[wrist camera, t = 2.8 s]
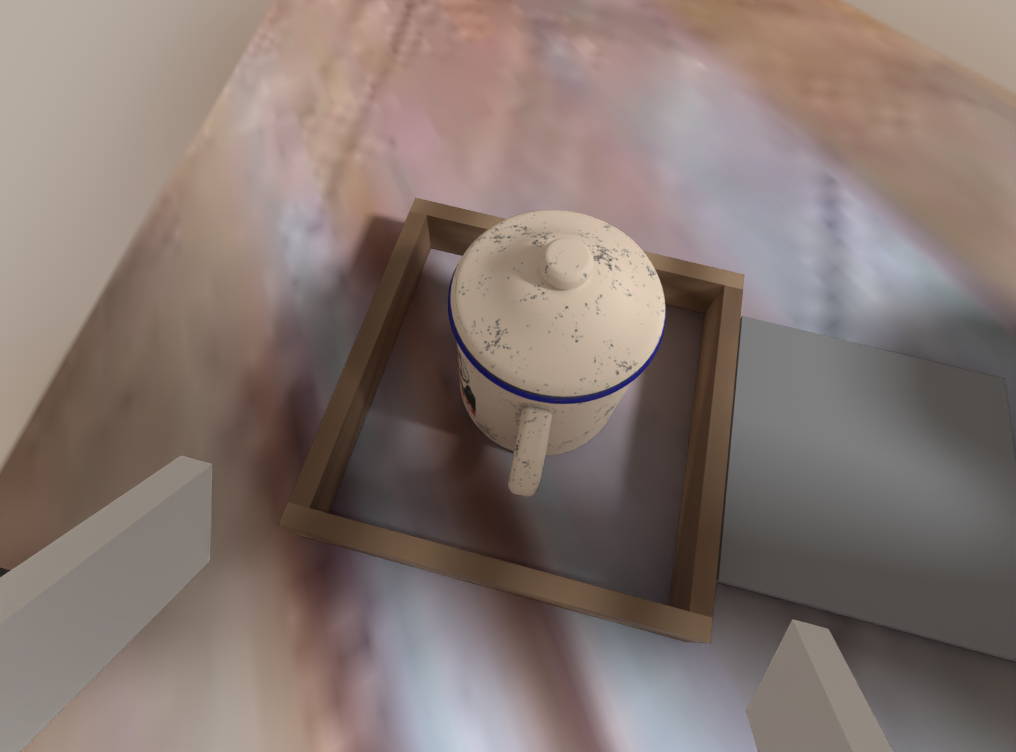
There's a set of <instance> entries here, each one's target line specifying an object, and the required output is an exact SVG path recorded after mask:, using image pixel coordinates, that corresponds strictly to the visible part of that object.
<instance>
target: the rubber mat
mask: <svg viewBox="0 0 1016 752" xmlns="http://www.w3.org/2000/svg"><path fill="white" fill-rule="evenodd" d="M716 582H719V583H723V584H727V585H731V586H734V587H738V588H742V589H746V590H749V591H753V592H757V593H760V594H764V595H768V596H772V597H775V598H779V599H783V600H787V601H790V602H794V603H798V604H802V605H805V606H809V607H813V608H816V609H820V610H824V611H828V612H831V613H835V614H839V615H843V616H846V617H850V618H854V619H858V620H861V621H865V622H869V623H872V624H876V625H880V626H884V627H887V628H891V629H895V630H899V631H902V632H906V633H910V634H914V635H917V636H921V637H925V638H928V639H932V640H936V641H940V642H943V643H947V644H951V645H955V646H958V647H962V648H966V649H970V650H973V651H977V652H981V653H984V654H988V655H992V656H996V657H999V658H1003V659H1007V660H1011V661H1014V662H1016V460H1015V453H1014V445H1013V438H1012V430H1011V422H1010V415H1009V407H1008V400H1007V392H1006V384H1005V379H1004V378H1000V377H996V376H991V375H987V374H983V373H979V372H975V371H970V370H966V369H962V368H958V367H954V366H949V365H945V364H941V363H937V362H933V361H928V360H924V359H920V358H916V357H912V356H907V355H903V354H899V353H895V352H891V351H887V350H882V349H878V348H874V347H870V346H866V345H861V344H857V343H853V342H849V341H845V340H840V339H836V338H832V337H828V336H824V335H819V334H815V333H811V332H807V331H803V330H798V329H794V328H790V327H786V326H782V325H777V324H773V323H769V322H765V321H761V320H757V319H752V318H748V317H744V316H742V317H741V318H740V327H739V338H738V349H737V360H736V371H735V382H734V393H733V403H732V414H731V425H730V436H729V447H728V458H727V469H726V480H725V491H724V502H723V513H722V523H721V534H720V545H719V556H718V567H717V578H716Z"/></svg>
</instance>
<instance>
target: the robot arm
mask: <svg viewBox="0 0 1016 752" xmlns="http://www.w3.org/2000/svg"><path fill="white" fill-rule="evenodd" d="M212 470H213V464H212V463H208V462H204V461H200V460H197V459H193V458H189V457H186V456H182V455H181V456H179V457H178V458H176V459H175V460H173V461H172V462H170V463H169V464H167V465H166V466H164V467H163V468H161V469H160V470H158V471H157V472H156V473H154V474H153V475H151V476H150V477H148V478H147V479H145V480H144V481H142V482H141V483H139V484H138V485H136V486H135V487H133V488H132V489H130V490H129V491H127V492H126V493H124V494H123V495H121V496H120V497H119V498H117V499H116V500H114V501H113V502H111V503H110V504H108V505H107V506H105V507H104V508H102V509H101V510H99V511H98V512H96V513H95V514H93V515H92V516H90V517H89V518H87V519H86V520H85V521H83V522H82V523H80V524H79V525H77V526H76V527H74V528H73V529H71V530H70V531H68V532H67V533H65V534H64V535H62V536H61V537H59V538H58V539H56V540H55V541H53V542H52V543H50V544H49V545H48V546H46V547H45V548H43V549H42V550H40V551H39V552H37V553H36V554H34V555H33V556H31V557H30V558H28V559H27V560H25V561H24V562H22V563H21V564H19V565H18V566H16V567H15V568H14V569H12V570H11V571H10V570H6V569H3V568H0V752H21V751H22V750H23V749H24V748H25V747H26V746H27V745H28V744H29V743H30V742H31V741H32V740H33V739H34V738H35V737H36V736H37V735H38V734H39V733H40V732H41V731H42V730H43V729H44V728H45V727H46V726H47V725H48V723H49V722H50V721H51V720H52V719H53V718H54V717H55V716H56V715H57V714H58V713H59V712H60V711H61V710H62V709H63V708H64V707H65V706H66V705H67V704H68V703H69V702H70V701H71V700H72V699H73V698H74V697H75V696H76V695H77V694H78V693H79V692H80V691H81V690H82V689H83V688H84V687H85V686H86V685H87V684H88V683H89V682H90V681H91V680H92V679H93V678H94V677H95V676H96V675H97V674H98V673H99V672H100V671H101V670H102V669H103V668H104V667H105V666H106V665H107V664H108V663H109V662H110V661H111V660H112V659H113V658H114V657H115V656H116V655H117V654H118V653H119V652H120V651H121V650H122V649H123V648H124V647H125V646H126V645H127V644H128V643H129V642H130V641H131V640H132V639H133V638H134V637H135V636H136V635H137V634H138V633H139V632H140V631H141V630H142V629H143V628H144V627H145V626H146V625H147V624H148V623H149V622H150V621H151V620H152V619H153V618H154V617H155V616H156V615H157V614H158V613H159V612H160V611H161V610H162V609H163V608H164V607H165V606H166V605H167V604H168V603H169V602H170V601H171V600H172V599H173V598H174V597H175V596H176V595H177V594H178V593H179V592H180V591H181V590H182V589H183V588H184V587H185V586H186V585H187V584H188V583H189V582H190V581H191V580H192V579H193V578H194V577H195V576H196V575H197V574H198V573H199V572H200V571H201V570H202V569H203V568H204V567H205V566H206V565H207V564H208V563H209V562H210V551H211V510H212ZM746 712H747V715H748V718H749V722H750V725H751V729H752V732H753V736H754V739H755V743H756V746H757V749H758V752H893V750H892V749H891V747H890V745H889V743H888V741H887V739H886V737H885V735H884V733H883V731H882V730H881V728H880V726H879V724H878V722H877V720H876V718H875V716H874V714H873V712H872V710H871V709H870V707H869V705H868V703H867V701H866V699H865V697H864V695H863V693H862V691H861V690H860V688H859V686H858V684H857V682H856V680H855V678H854V676H853V674H852V672H851V671H850V669H849V667H848V665H847V663H846V661H845V659H844V657H843V655H842V653H841V651H840V650H839V648H838V646H837V644H836V642H835V640H834V638H833V636H832V634H831V632H830V631H829V629H827V628H824V627H820V626H816V625H812V624H809V623H805V622H801V621H797V620H794V619H792V621H791V623H790V625H789V627H788V629H787V631H786V633H785V635H784V637H783V639H782V641H781V643H780V645H779V647H778V649H777V651H776V653H775V655H774V657H773V658H772V660H771V662H770V664H769V666H768V668H767V670H766V672H765V674H764V676H763V678H762V680H761V682H760V684H759V686H758V688H757V690H756V692H755V694H754V696H753V698H752V700H751V702H750V704H749V706H748V708H747V710H746Z"/></svg>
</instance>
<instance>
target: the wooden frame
mask: <svg viewBox="0 0 1016 752" xmlns="http://www.w3.org/2000/svg"><path fill="white" fill-rule="evenodd" d="M504 220H506V219H504V218H500V217H495V216H491V215H487V214H483V213H478V212H474V211H470V210H466V209H461V208H457V207H453V206H448V205H444V204H440V203H436V202H431V201H427V200H423V199H419V198H415V200H414V202H413V204H412V207H411V209H410V212H409V214H408V216H407V219H406V221H405V224H404V226H403V228H402V231H401V233H400V235H399V238H398V240H397V243H396V245H395V247H394V250H393V252H392V255H391V257H390V259H389V262H388V264H387V266H386V269H385V271H384V274H383V276H382V278H381V281H380V283H379V286H378V288H377V290H376V293H375V295H374V297H373V300H372V302H371V305H370V307H369V309H368V312H367V314H366V317H365V319H364V321H363V324H362V326H361V329H360V331H359V333H358V336H357V338H356V340H355V343H354V345H353V348H352V350H351V352H350V355H349V357H348V360H347V362H346V364H345V367H344V369H343V371H342V374H341V376H340V379H339V381H338V383H337V386H336V388H335V391H334V393H333V395H332V398H331V400H330V402H329V405H328V407H327V410H326V412H325V414H324V417H323V419H322V422H321V424H320V426H319V429H318V431H317V433H316V436H315V438H314V441H313V443H312V445H311V448H310V450H309V453H308V455H307V457H306V460H305V462H304V464H303V467H302V469H301V472H300V474H299V476H298V479H297V481H296V484H295V486H294V488H293V491H292V493H291V495H290V498H289V500H288V503H287V505H286V507H285V510H284V512H283V515H282V517H281V519H280V522H279V524H278V525H280V526H282V527H284V528H286V529H288V530H290V531H292V532H293V533H295V534H297V535H300V536H303V537H307V538H311V539H314V540H318V541H322V542H325V543H329V544H333V545H336V546H340V547H343V548H347V549H351V550H354V551H358V552H362V553H365V554H369V555H373V556H376V557H380V558H383V559H387V560H391V561H394V562H398V563H402V564H405V565H409V566H412V567H416V568H420V569H423V570H427V571H431V572H434V573H438V574H442V575H445V576H449V577H452V578H456V579H460V580H463V581H467V582H471V583H474V584H478V585H482V586H485V587H489V588H492V589H496V590H500V591H503V592H507V593H511V594H514V595H518V596H521V597H525V598H529V599H532V600H536V601H540V602H543V603H547V604H551V605H554V606H558V607H561V608H565V609H569V610H572V611H576V612H580V613H583V614H587V615H591V616H594V617H598V618H601V619H605V620H609V621H612V622H616V623H620V624H623V625H627V626H631V627H634V628H638V629H641V630H645V631H649V632H652V633H656V634H660V635H663V636H667V637H670V638H674V639H678V640H681V641H685V642H698V643H711V633H712V622H713V611H714V600H715V589H716V578H717V567H718V556H719V545H720V534H721V523H722V513H723V502H724V491H725V480H726V469H727V458H728V447H729V436H730V425H731V414H732V403H733V393H734V382H735V371H736V360H737V349H738V338H739V327H740V316H741V305H742V294H743V283H744V275H743V274H739V273H735V272H731V271H726V270H722V269H718V268H713V267H709V266H705V265H701V264H696V263H692V262H688V261H684V260H679V259H675V258H671V257H666V256H662V255H658V254H654V253H649V252H645V251H643V252H644V253H645V254H646V256H647V257H648V259H649V260H650V262H651V263H652V265H653V267H654V268H655V270H656V272H657V275H658V277H659V279H660V282H661V285H662V288H663V293H664V298H665V304H668V305H672V306H676V307H680V308H685V309H689V310H693V311H697V312H701V313H705V315H704V323H703V332H702V340H701V348H700V356H699V364H698V372H697V380H696V388H695V396H694V405H693V413H692V421H691V429H690V437H689V445H688V453H687V461H686V469H685V478H684V486H683V494H682V502H681V510H680V518H679V526H678V534H677V543H676V551H675V559H674V567H673V575H672V583H671V591H670V599H669V606H668V605H664V604H660V603H657V602H653V601H649V600H645V599H642V598H638V597H634V596H631V595H627V594H623V593H620V592H616V591H612V590H609V589H605V588H601V587H598V586H594V585H590V584H587V583H583V582H579V581H576V580H572V579H568V578H565V577H561V576H557V575H553V574H550V573H546V572H542V571H539V570H535V569H531V568H528V567H524V566H520V565H517V564H513V563H509V562H506V561H502V560H498V559H495V558H491V557H487V556H484V555H480V554H476V553H473V552H469V551H465V550H462V549H458V548H454V547H450V546H447V545H443V544H439V543H436V542H432V541H428V540H425V539H421V538H417V537H414V536H410V535H406V534H403V533H399V532H395V531H392V530H388V529H384V528H381V527H377V526H373V525H370V524H366V523H362V522H359V521H355V520H351V519H347V518H344V517H340V516H336V515H333V514H329V511H330V508H331V506H332V503H333V501H334V498H335V495H336V493H337V490H338V488H339V485H340V482H341V480H342V477H343V475H344V472H345V469H346V467H347V464H348V462H349V459H350V456H351V454H352V451H353V449H354V446H355V443H356V441H357V438H358V436H359V433H360V430H361V428H362V425H363V423H364V420H365V417H366V415H367V412H368V410H369V407H370V404H371V402H372V399H373V397H374V394H375V392H376V389H377V386H378V384H379V381H380V379H381V376H382V373H383V371H384V368H385V366H386V363H387V360H388V358H389V355H390V353H391V350H392V347H393V345H394V342H395V340H396V337H397V334H398V332H399V329H400V327H401V324H402V321H403V319H404V316H405V314H406V311H407V308H408V306H409V303H410V301H411V298H412V295H413V293H414V290H415V288H416V285H417V282H418V280H419V277H420V275H421V272H422V270H423V267H424V264H425V262H426V259H427V257H428V254H429V251H430V249H431V248H434V249H438V250H442V251H446V252H450V253H455V254H459V255H464V253H465V252H466V250H467V249H468V248H469V246H470V245H471V244H472V243H473V242H474V241H475V240H476V239H477V238H478V237H479V236H480V235H482V234H483V233H484V232H485V231H487V230H488V229H490V228H491V227H493V226H494V225H496V224H498V223H499V222H502V221H504Z"/></svg>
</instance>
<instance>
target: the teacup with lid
mask: <svg viewBox="0 0 1016 752" xmlns="http://www.w3.org/2000/svg"><path fill="white" fill-rule="evenodd" d="M448 314H449V320H450V324H451V328H452V331H453V334H454V336H455V339H456V342H457V355H458V368H459V381H460V390H461V395H462V399H463V402H464V405H465V408H466V410H467V412H468V414H469V416H470V417H471V419H472V420H473V422H474V423H475V424H476V426H477V427H478V428H479V429H480V430H481V431H482V432H483V433H484V434H485V435H486V436H487V437H488V438H490V439H491V440H492V441H494V442H495V443H497V444H499V445H500V446H502V447H504V448H507V449H509V450H511V451H514V455H513V460H512V466H511V471H510V477H509V483H508V486H509V489H510V491H511V492H512V493H514V494H517V495H522V496H532V495H533V494H534V493H535V492H536V491H537V489H538V486H539V483H540V479H541V475H542V470H543V466H544V461H545V456H551V455H558V454H562V453H566V452H568V451H571V450H574V449H576V448H578V447H580V446H582V445H583V444H585V443H587V442H588V441H589V440H591V439H592V438H593V437H594V436H595V435H596V434H597V433H598V432H599V431H600V430H601V429H602V428H603V427H604V425H605V424H606V422H607V421H608V419H609V418H610V416H611V414H612V413H613V411H614V409H615V408H616V406H617V405H618V403H619V401H620V400H621V398H622V396H623V395H624V393H625V392H626V390H627V388H628V387H629V385H630V383H631V382H632V381H633V380H635V379H636V378H637V377H638V376H639V375H640V374H641V373H642V372H643V371H644V370H645V369H646V367H647V366H648V365H649V363H650V362H651V361H652V359H653V358H654V356H655V354H656V352H657V350H658V348H659V346H660V343H661V340H662V337H663V333H664V328H665V320H666V310H665V298H664V293H663V288H662V285H661V282H660V279H659V277H658V275H657V272H656V270H655V268H654V267H653V265H652V263H651V262H650V260H649V259H648V257H647V256H646V254H645V253H644V252H643V251H642V250H641V248H640V247H639V246H638V245H637V244H636V243H635V242H634V241H633V240H632V239H630V238H629V237H628V236H627V235H625V234H624V233H623V232H621V231H620V230H618V229H617V228H615V227H613V226H612V225H610V224H608V223H606V222H604V221H602V220H599V219H597V218H594V217H591V216H588V215H585V214H581V213H576V212H570V211H562V210H542V211H533V212H528V213H523V214H520V215H516V216H513V217H511V218H508V219H506V220H504V221H502V222H499V223H498V224H496V225H494V226H493V227H491V228H490V229H488V230H487V231H485V232H484V233H483V234H482V235H480V236H479V237H478V238H477V239H476V240H475V241H474V242H473V243H472V244H471V245H470V246H469V248H468V249H467V250H466V252H465V253H464V255H463V256H462V258H461V260H460V261H459V263H458V265H457V267H456V269H455V271H454V273H453V276H452V279H451V282H450V287H449V293H448Z"/></svg>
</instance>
